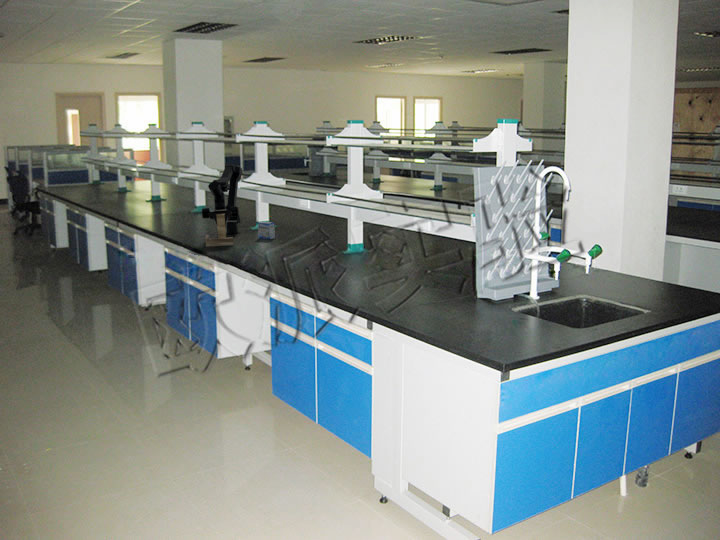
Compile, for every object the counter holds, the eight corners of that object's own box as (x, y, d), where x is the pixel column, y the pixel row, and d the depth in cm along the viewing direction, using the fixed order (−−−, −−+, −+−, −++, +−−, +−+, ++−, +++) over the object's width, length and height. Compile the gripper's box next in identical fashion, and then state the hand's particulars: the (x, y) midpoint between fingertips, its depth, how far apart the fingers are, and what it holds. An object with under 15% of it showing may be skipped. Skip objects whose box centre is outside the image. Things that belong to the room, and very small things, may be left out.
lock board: (206, 241, 367) (205, 235, 366) (232, 240, 370) (232, 233, 369) (205, 246, 354) (205, 239, 353) (233, 244, 356) (233, 238, 356)
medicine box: (258, 238, 373) (257, 222, 371) (263, 237, 376) (262, 221, 374) (270, 239, 369) (269, 223, 367) (275, 238, 373) (274, 222, 371)
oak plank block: (218, 237, 361) (216, 214, 359) (226, 236, 362) (224, 213, 359) (218, 238, 358) (216, 215, 355) (226, 237, 358) (224, 215, 356)
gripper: (237, 209, 374) (239, 233, 366) (202, 211, 370) (203, 235, 362) (237, 196, 364) (239, 220, 356) (201, 198, 361) (202, 223, 353)
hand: (221, 225), depth 357 cm, fingers closed on oak plank block, 4 cm apart
